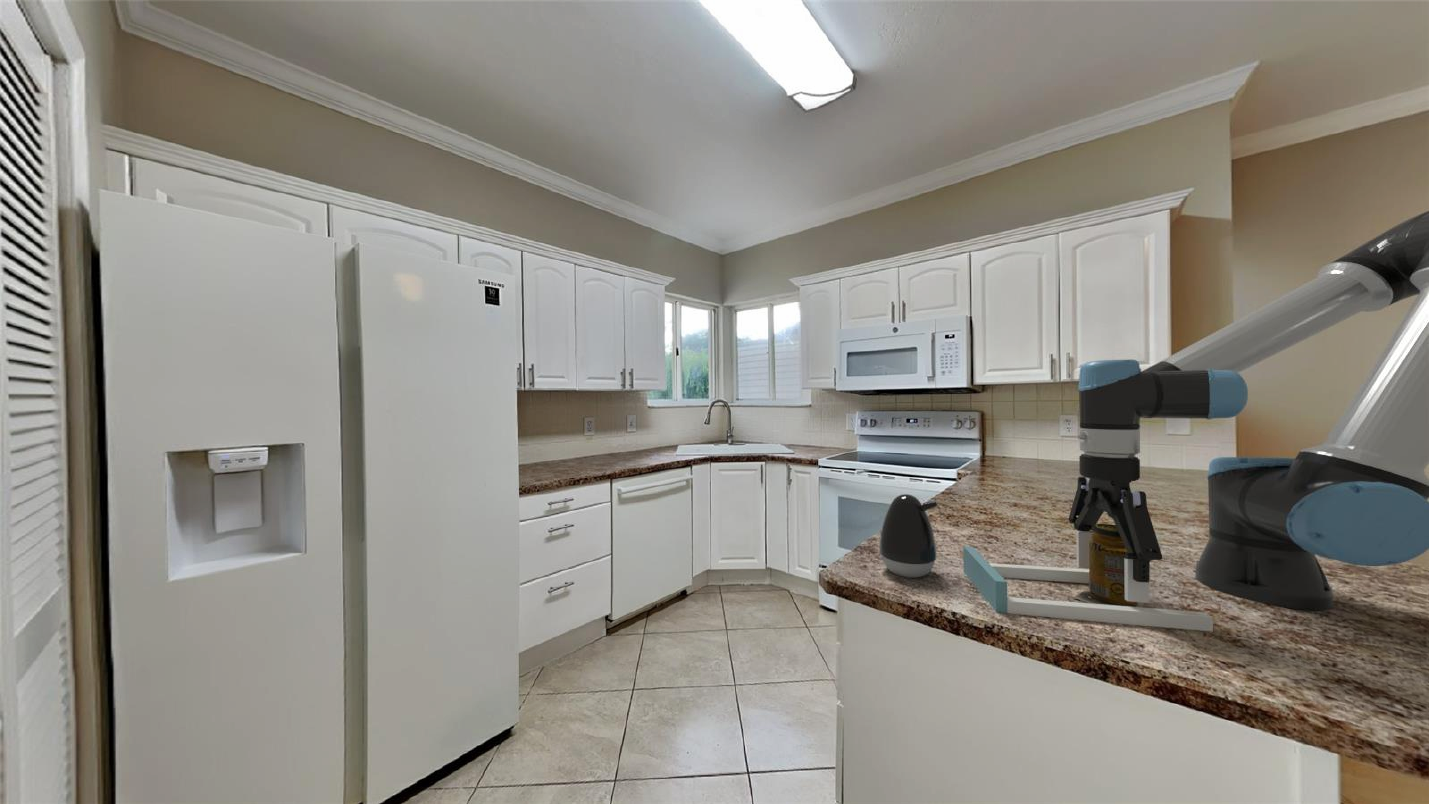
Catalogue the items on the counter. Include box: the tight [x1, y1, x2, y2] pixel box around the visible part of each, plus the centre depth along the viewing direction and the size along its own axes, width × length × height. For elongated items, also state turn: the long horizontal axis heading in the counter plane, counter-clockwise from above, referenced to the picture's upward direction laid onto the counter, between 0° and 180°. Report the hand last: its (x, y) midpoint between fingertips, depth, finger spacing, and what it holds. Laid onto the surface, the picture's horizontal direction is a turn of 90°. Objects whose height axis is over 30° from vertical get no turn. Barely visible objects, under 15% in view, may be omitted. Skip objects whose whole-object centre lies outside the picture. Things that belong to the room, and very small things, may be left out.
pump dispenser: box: [878, 493, 938, 579], centre depth 88 cm, size 10×10×15 cm
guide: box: [962, 545, 1214, 633], centre depth 76 cm, size 28×17×5 cm, turn 76°
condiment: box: [1073, 523, 1146, 608], centre depth 75 cm, size 7×8×12 cm
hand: (1109, 583), depth 75 cm, fingers open, 13 cm apart
